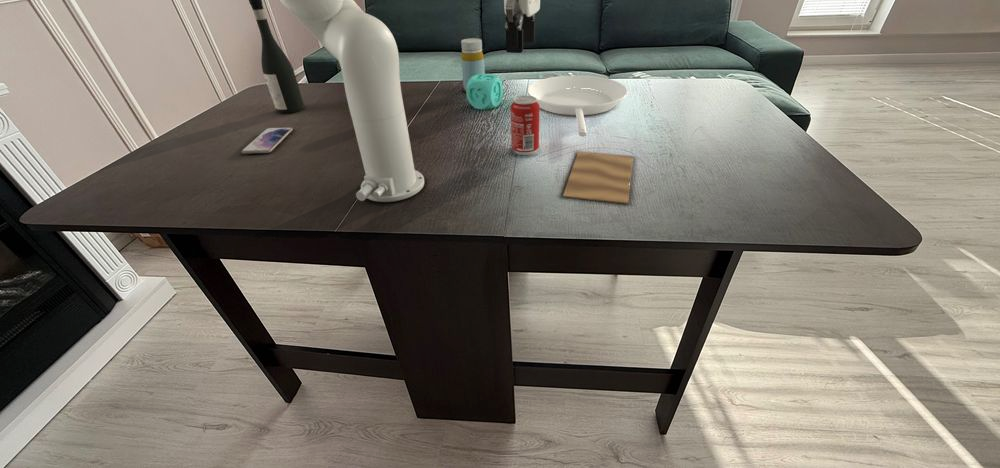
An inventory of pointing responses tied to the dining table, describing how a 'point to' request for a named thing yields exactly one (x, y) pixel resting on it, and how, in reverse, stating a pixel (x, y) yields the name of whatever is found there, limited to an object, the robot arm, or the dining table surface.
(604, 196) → the wooden trivet
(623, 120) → the dining table surface
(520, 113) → the beverage can
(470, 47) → the bottle
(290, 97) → the wine bottle
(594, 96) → the pan
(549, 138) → the dining table surface
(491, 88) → the decorative dice
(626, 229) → the dining table surface
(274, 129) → the smartphone
